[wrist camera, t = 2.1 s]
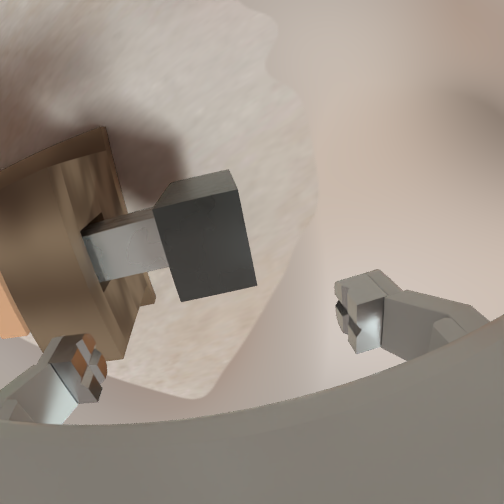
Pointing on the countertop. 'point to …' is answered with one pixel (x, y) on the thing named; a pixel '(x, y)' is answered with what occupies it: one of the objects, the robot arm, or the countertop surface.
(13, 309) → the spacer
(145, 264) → the shaft
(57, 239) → the shaft stand
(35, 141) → the countertop surface
